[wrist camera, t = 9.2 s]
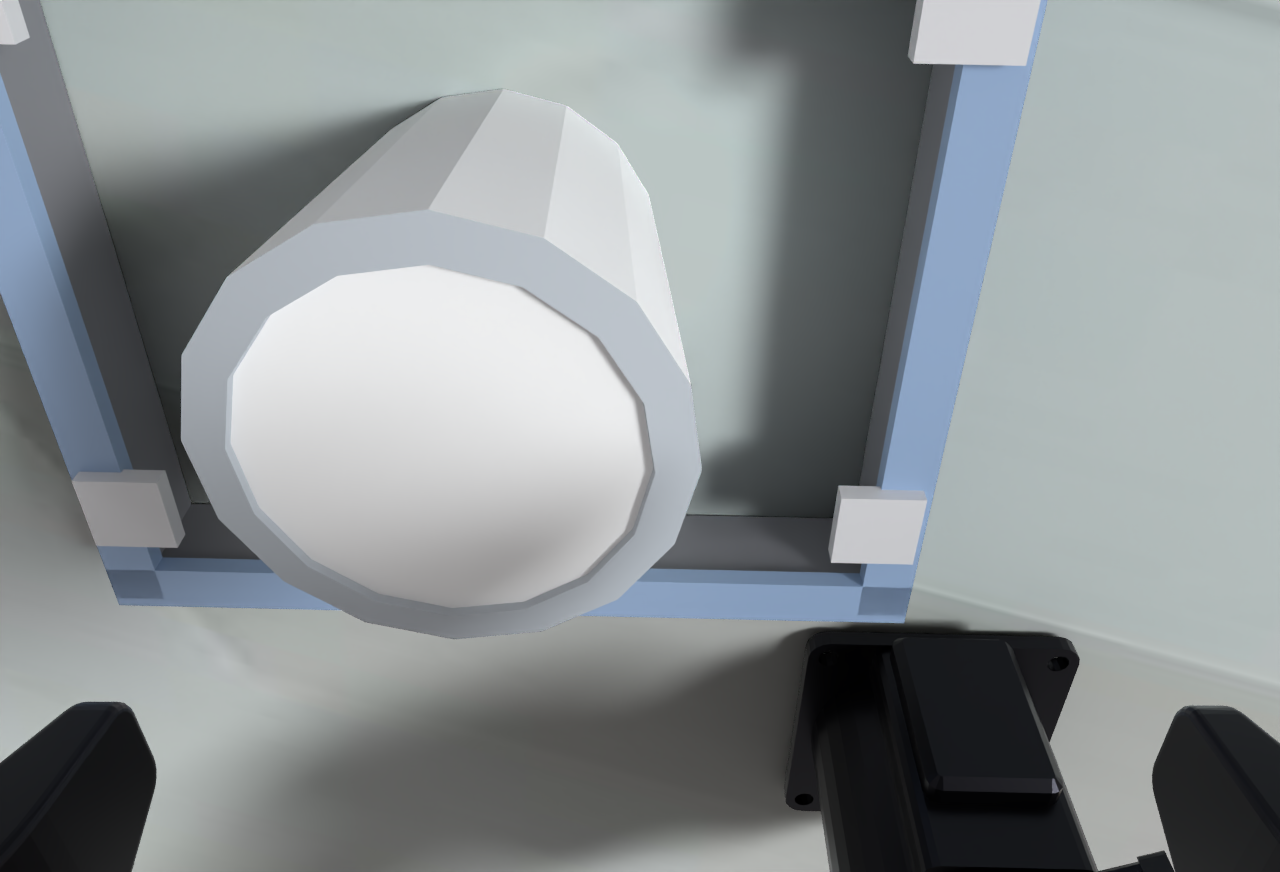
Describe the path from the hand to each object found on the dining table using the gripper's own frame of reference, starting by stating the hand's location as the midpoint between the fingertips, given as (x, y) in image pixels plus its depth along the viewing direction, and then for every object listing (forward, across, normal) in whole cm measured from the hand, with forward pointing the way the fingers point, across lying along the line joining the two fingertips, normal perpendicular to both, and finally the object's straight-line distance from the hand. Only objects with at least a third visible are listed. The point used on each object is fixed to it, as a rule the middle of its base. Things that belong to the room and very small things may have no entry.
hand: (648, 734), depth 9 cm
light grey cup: (+12, +3, +1) cm, 13 cm away
